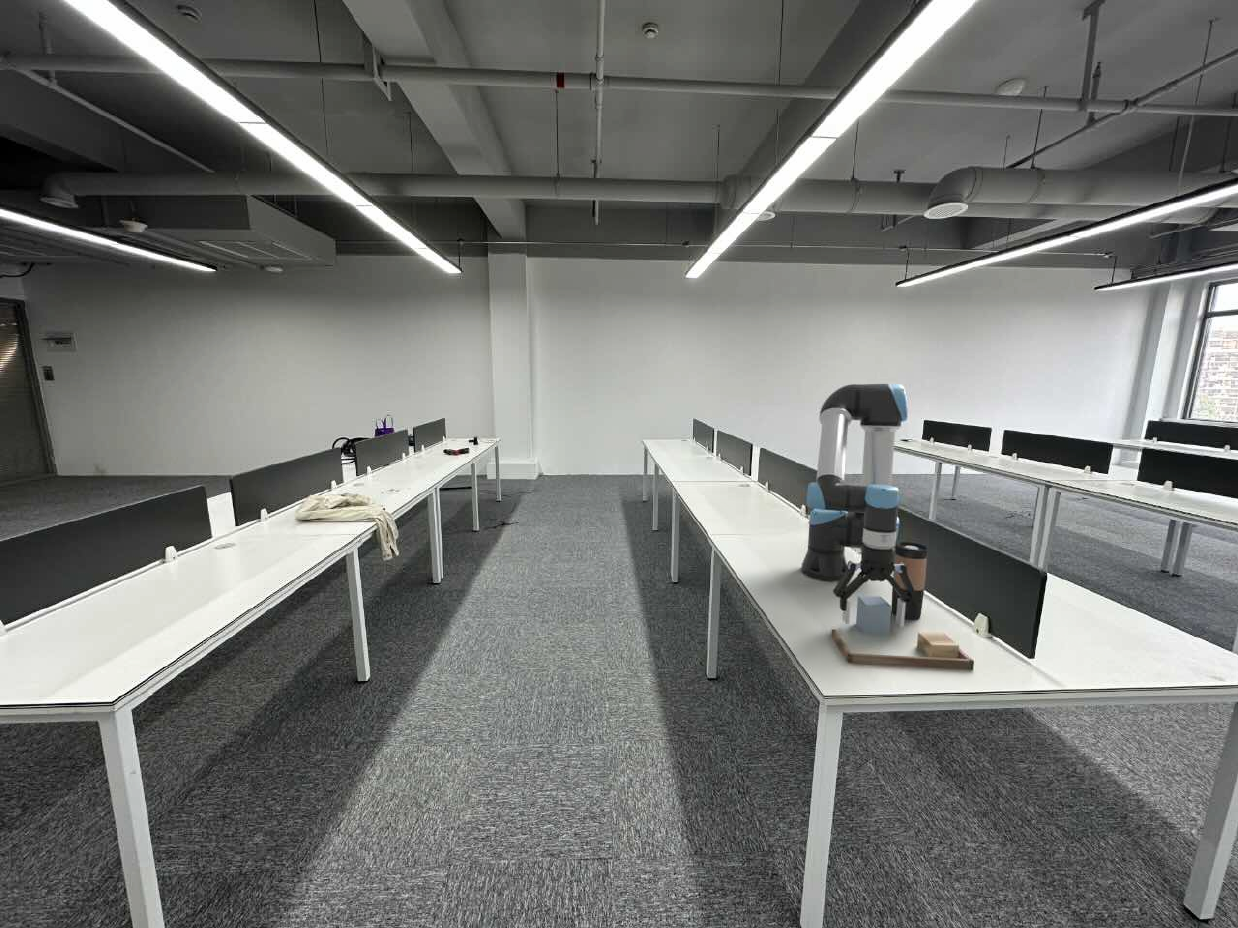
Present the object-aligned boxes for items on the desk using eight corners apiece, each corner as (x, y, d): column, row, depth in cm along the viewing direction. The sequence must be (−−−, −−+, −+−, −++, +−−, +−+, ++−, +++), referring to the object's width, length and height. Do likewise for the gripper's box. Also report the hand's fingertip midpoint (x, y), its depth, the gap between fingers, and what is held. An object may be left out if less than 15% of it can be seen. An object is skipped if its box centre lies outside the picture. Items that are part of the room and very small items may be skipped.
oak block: (916, 647, 119) (918, 632, 118) (941, 647, 119) (943, 632, 118) (931, 660, 113) (932, 644, 113) (957, 661, 113) (959, 645, 112)
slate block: (855, 623, 131) (857, 595, 130) (879, 624, 130) (881, 596, 129) (864, 634, 125) (866, 605, 124) (888, 635, 125) (891, 606, 123)
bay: (831, 636, 124) (831, 629, 124) (942, 641, 121) (943, 634, 121) (848, 663, 112) (849, 655, 112) (973, 669, 109) (974, 661, 109)
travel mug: (926, 621, 132) (932, 551, 129) (895, 619, 133) (901, 549, 130) (915, 609, 139) (921, 542, 136) (886, 607, 141) (891, 541, 138)
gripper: (832, 548, 122) (828, 627, 125) (937, 551, 119) (930, 631, 122) (823, 539, 129) (819, 614, 132) (922, 542, 127) (915, 618, 130)
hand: (872, 622), depth 127 cm, fingers open, 13 cm apart
